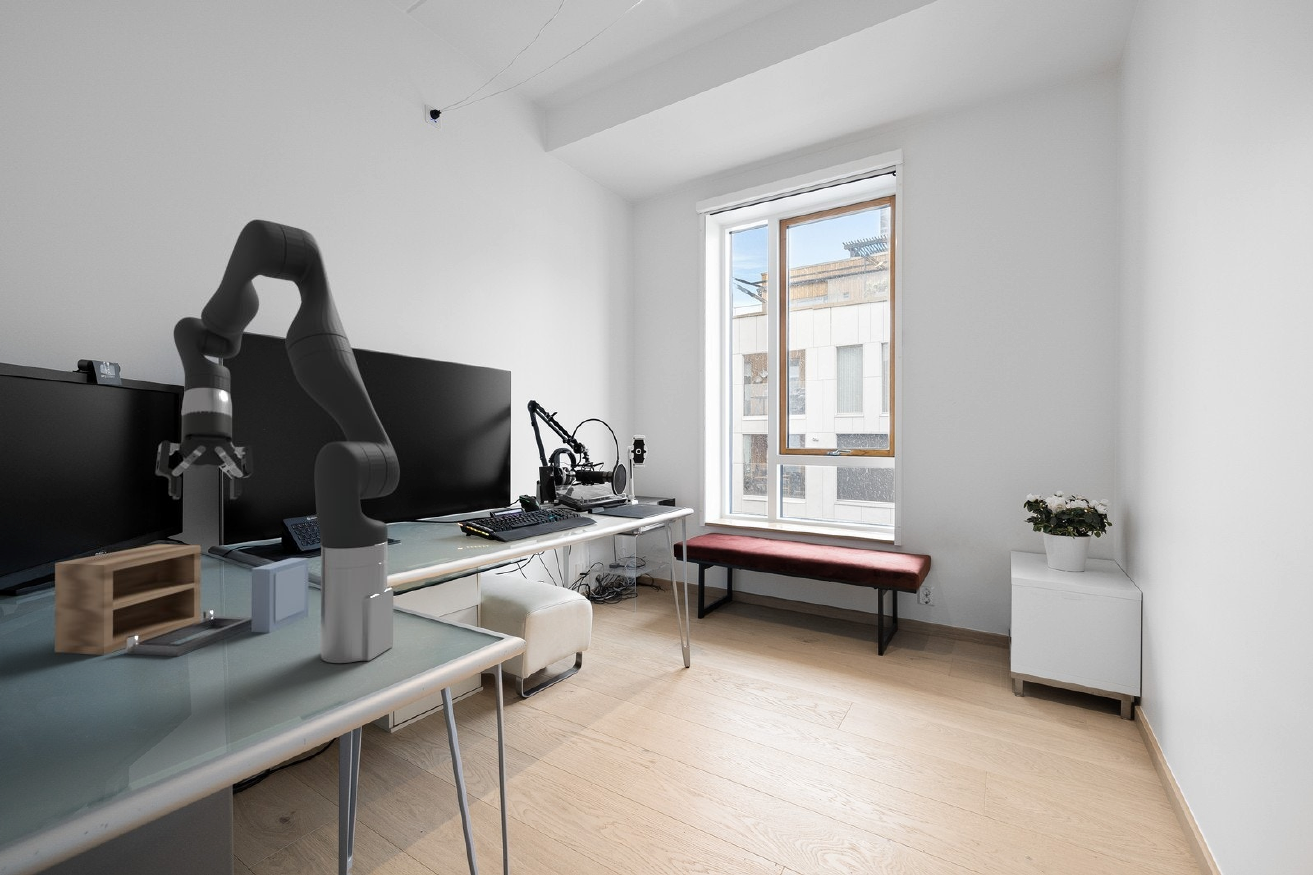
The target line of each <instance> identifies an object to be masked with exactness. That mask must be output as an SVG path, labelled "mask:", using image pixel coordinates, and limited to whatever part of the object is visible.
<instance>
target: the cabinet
mask: <svg viewBox="0 0 1313 875" xmlns="http://www.w3.org/2000/svg"><path fill="white" fill-rule="evenodd" d="M201 548H202V547H201V545H197V544H196V545H195V544H194V545H193V544H166V543H165V544H162V543H158V544H157V543H156V544H152V545H146V546H141V547H136V548H131V549H124V550H120V551H115V552H114V551H113V552H108V553H103V554H98V555H93V556H88V557H82V558H75V559H71V560H66V561H60V562H55V563H54V584H55V585H54V595H55V596H54V611H55V612H54V653H64V654H65V653H66V654H67V653H69V654H83V655H99V656H100V655H101V656H103V655H104V656H105V655H108V654H111V653H114V652H117V651H119V650H122V649H126V637H128V636H131V635H138V642H141V641H144V640H147V639H150V638H153V637H156V636H159V635H162V634H164V633H167V632H170V631H173V630H176V629H179V628H182V627H185V626H188V625H191V624H193V623H196V622H199V621H201V601H202V600H201V599H202V598H201V596H202V595H201V592H202V591H201V590H202V589H201V586H202V584H201V576H202V574H201V568H202V567H201V566H202V562H201V560H202V558H201V555H202V554H201V552H202V551H201V550H202V549H201Z"/></svg>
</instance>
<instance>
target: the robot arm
mask: <svg viewBox="0 0 1313 875" xmlns="http://www.w3.org/2000/svg"><path fill="white" fill-rule="evenodd" d="M225 267H226V268H225V271H224V274H223V276H222V279H221V281H220V284H219V285H218V288H217V289H216V291H215V292H214V293H213V295H212V296H211V298H210V299H209V300H208V302H207V303H206V304H205V306H204V307H203V309H202V310H201V314H200V318H198V317H192V316H187V317H183V318H181V319H180V320H179V321H178V322H176V324H175V325H174V328H173V340H174V344H175V347H176V349H177V353H178V356H179V357H180V361H181V364H182V368H183V372H184V391H183V392H184V395H183V400H182V408H181V440H180V443H174V442H171V441H170V440H163V441H162V442H161V443H160V444H159V445H158V448H157V449H158V450H157V454H156V455H157V457H156V464H155V465H156V466H155V475H156V476H160V477H161V476H162V477H165V478H167V479H168V495H169V496H170V497H172V499H173V500H179V499H180V498H181V497H182V477H183V476H180V475H182V474H183V473H184V472H185V471H186V470H187V469H188V468H189V466H192V467H194V468H196V469H201V468H209V469H217V468H220V469H221V470H222V473H225V474H226V475H227V476H228V477H229V478H230V479H231V480H230V481H229V498H230V500H236V499H238V497H239V496H241V494H242V491H243V483H242V482H243V479H247V478H249V477H250V476H252V475H254V473H255V471H254V470H255V469H254V459H253V448H252V446H251V445H246V446H235V445H234V443H233V403H232V398H231V397H232V396H231V371H230V370H229V368H228V367H226V366H224V365H223V364H219V363H217V362H215V361H212V360H211V359H208V358H207V357H211V358H217V359H221V360H222V359H223V360H224V359H225V360H226V359H231V358H234V357H235V356H237V355H238V354H239V353H240V351H241V346H242V337H243V334H244V332H245V329H246V328H247V327H248V326H249V324H250V323H251V322H252V321H253V319H254V318H255V317H256V316H257V314H258V311H259V309H260V308H259V307H260V299H259V295H258V292H257V290H256V289H255V286H254V283H253V280H254V279H255V278H256V277H258V276H263V277H265V278H271V279H278V280H281V281H290V282H292V283H294V284H295V286H296V287H297V289H298V291H299V296H300V301H301V302H300V306H299V308H298V310H297V312H296V314H295V317H294V318H293V320H292V322H291V323H290V325H289V328H288V330H287V332H286V334H285V335H286V337H285V341H284V342H285V344H284V345H285V349H286V352H287V356H288V359H289V361H290V365H291V367H292V371H293V374H294V375H295V378H296V380H297V382H298V383H299V385H300V386H301V387H302V389H303V390H304V391H305V392H306V393H307V394H308V395H309V396H310V398H312V399H313V400H314V401H315V402H316V403H317V404H318V405H319V406H320V407H321V408H323V410H325V411H326V412H327V413H328V414H329V416H331V417H332V418H333V420H334V421H336V423H337V424H338V425H339V427H340V429H341V430H342V431H343V434H344V436H345V438H346V441H332V442H328V443H326V444H325V445H324V446H323V447H321V449H320V450H319V452H318V454H317V456H316V460H315V464H314V476H313V477H314V492H315V508H316V509H315V510H316V511H315V512H316V524H317V528H318V531H319V534H320V545H321V547H320V551H321V552H320V554H321V555H320V559H321V560H320V563H321V564H320V658H321V660H322V661H324V662H326V663H331V664H346V663H353V662H359V661H371V660H373V659H374V658H376V657H378V656H379V655H381V654H383V653H384V652H386V651H387V650H390V649H391V648H392V647H394V588H392V587H388V545H389V544H388V537H389V536H388V532H389V531H388V526H387V524H386V522H383V521H381V520H376V519H373V518H370V517H367V515H365V514H364V513H363V512H362V507H361V506H362V505H361V500H366V499H376V498H381V497H386V496H388V495H390V494H392V493H393V492H394V491H396V489H397V487H398V485H399V482H400V476H401V475H400V474H401V472H400V464H399V459H398V457H397V453H396V450H395V448H394V446H393V444H392V441H391V440H390V438H389V436H388V434H387V431H385V427H384V426H383V425H382V422H381V420H380V419H379V416H378V414H377V413H376V410H375V407H374V406H373V403H372V401H371V399H370V396H369V394H368V391H367V389H366V386H365V384H364V381H363V378H362V375H361V373H360V369H359V367H358V364H357V361H356V357H355V354H354V352H353V349H352V346H351V343H350V341H349V338H348V336H347V334H346V331H345V329H344V327H343V323H342V321H341V318H340V315H339V312H338V309H337V306H336V303H335V299H334V297H333V293H332V290H331V285H330V281H329V278H328V277H329V276H328V272H327V269H326V264H325V261H324V256H323V252H322V250H321V247H320V245H319V243H318V241H317V239H316V237H315V236H314V235H313V234H312V233H310V232H308V231H307V230H304V229H302V228H298V227H294V226H290V225H287V224H286V225H285V224H282V223H278V222H274V221H269V220H263V219H253V220H250V221H249V222H248V223H246V225H244V227H243V228H242V230H240V232H239V235H238V237H237V239H236V241H235V244H234V247H233V250H232V253H231V254H230V257H229V259H228V263H227V265H226V266H225ZM176 451H177V452H179V453H180V455H182V457H183V458H184V460H183V461H182V462H180V463H179V465H177V466H176V467H175V468H174V469H172V468H170V467H169V462H170V456H172V455H173V454H174V453H175V452H176ZM233 454H235V455H237V456H236V457H238V459H240V461H241V463H240V464H241V469H239V467H238V466H237V465H236V463H235V461H233V459H232V458H231V456H232V455H233Z"/></svg>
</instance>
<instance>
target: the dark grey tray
mask: <svg viewBox="0 0 1313 875" xmlns="http://www.w3.org/2000/svg"><path fill="white" fill-rule="evenodd" d="M215 627H216V628H217V627H218V629H215V630H212V631H210V632H208V633H205V634H203V635H202V634H201V635H199V636H197V637H194V638H192V639H189V640H186V641H184V642H181V643H173V642H175V641H176V642H177V641H178V640H182V639H185V638H187V637H190V636H192V635H195V634H199V633H201V632H203V631H206V630H208V629H211V628H215ZM219 627H220V628H219ZM250 629H252V617H241V616H225V615H224V616H221V615H220V616H218V615H215V616H214V610H213V609H208V610H204V611H203V620H200V621H199V622H196V623H193V624H191V625H188V626H185V627H182V628H179V629H176V630H173V631H170V632H167V633H164V634H162V635H159V636H156V637H153V638H150V639H147V640H144V641H141V642H138V635H131V636H128V637H126V648H125V651H126V655H131V654H133V655H147V656H148V655H149V656H167V657H169V656H170V657H180V656H183V655H186V654H188V653H190V652H193V651H195V650H198V649H200V648H203V647H205V646H209V645H211V644H213V643H216V642H219V641H222V640H224V639H226V638H228V637H231V636H234V635H236V634H239V633H242V632H244V631H246V630H250Z"/></svg>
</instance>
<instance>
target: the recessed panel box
mask: <svg viewBox="0 0 1313 875" xmlns="http://www.w3.org/2000/svg"><path fill="white" fill-rule="evenodd" d="M308 617H309V558H303V557H290V558H287V559H283V560H280V561H276V562H275V561H274V562H272V563H268V564H264V565H261V566H257V567H253V568H251V618H252V628H251V632H252V633H268V634H269V633H272V632H274V631H277V630H279V629H282V628H285V627H286V626H288V625H289V626H290V625H291V624H294V623H296V622H298V621H301V620H303V619H305V618H308Z"/></svg>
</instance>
